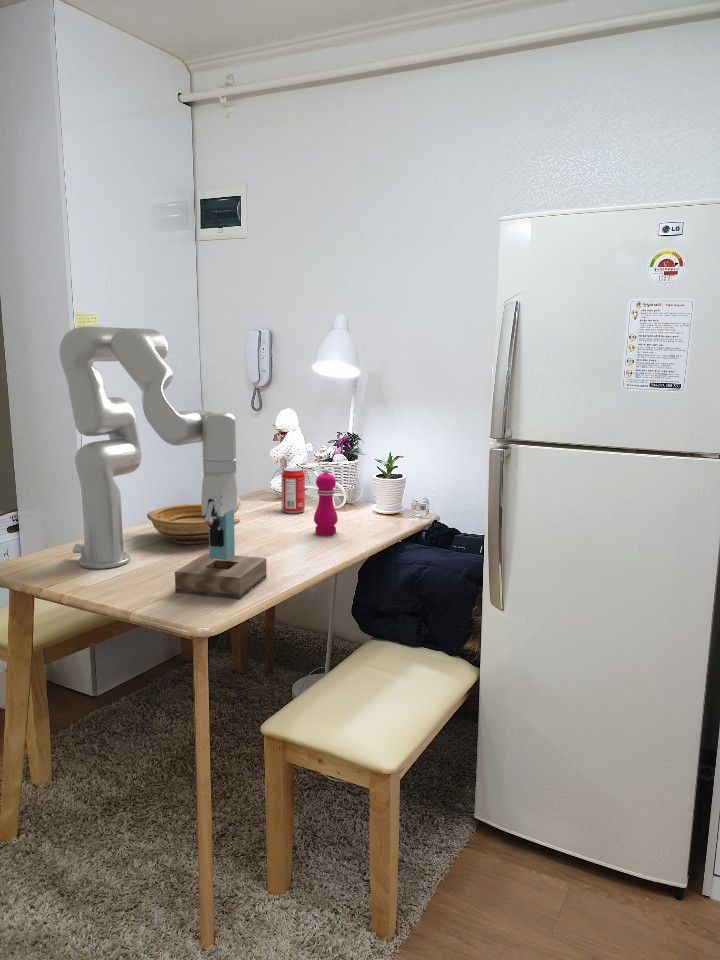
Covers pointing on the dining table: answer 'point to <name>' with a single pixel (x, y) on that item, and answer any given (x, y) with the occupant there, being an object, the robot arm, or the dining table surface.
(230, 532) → the peg
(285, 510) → the soda can
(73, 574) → the dining table surface
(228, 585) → the bore block
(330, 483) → the pepper mill
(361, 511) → the dining table surface
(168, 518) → the ceramic bowl
